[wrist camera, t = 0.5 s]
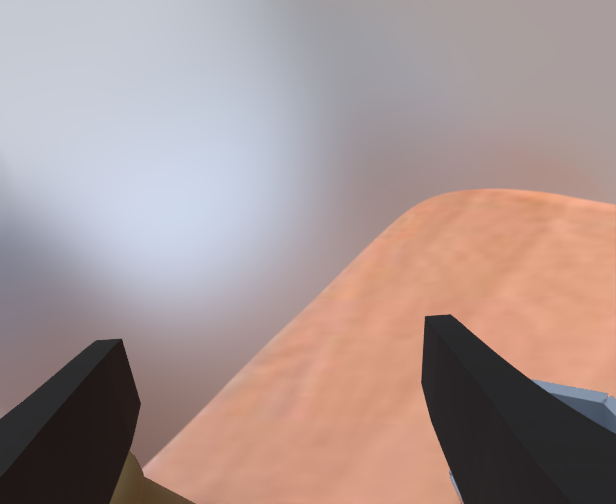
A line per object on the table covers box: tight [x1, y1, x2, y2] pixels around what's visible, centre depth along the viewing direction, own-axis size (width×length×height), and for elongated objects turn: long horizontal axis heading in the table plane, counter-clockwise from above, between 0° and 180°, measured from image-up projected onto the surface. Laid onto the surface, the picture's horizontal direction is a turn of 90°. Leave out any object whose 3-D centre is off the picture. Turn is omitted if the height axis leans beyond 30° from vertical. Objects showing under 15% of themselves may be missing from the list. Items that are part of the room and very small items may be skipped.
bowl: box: [449, 380, 616, 504], centre depth 24 cm, size 9×9×4 cm
